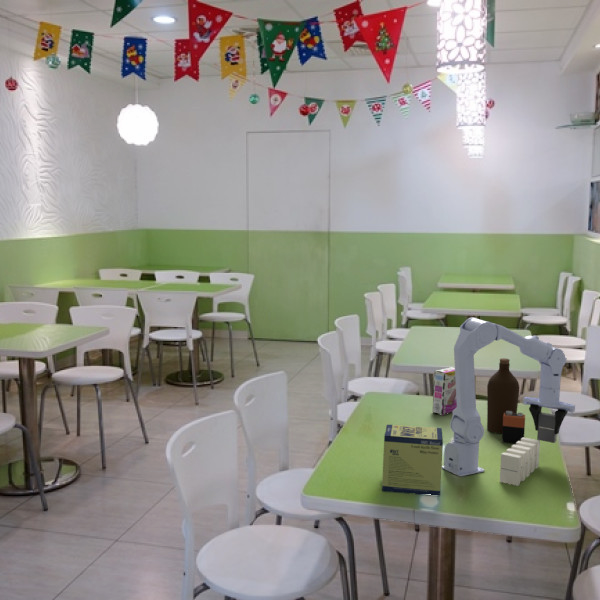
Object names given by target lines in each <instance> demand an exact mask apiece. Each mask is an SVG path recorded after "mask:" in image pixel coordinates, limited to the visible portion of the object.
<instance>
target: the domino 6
mask: <svg viewBox="0 0 600 600" xmlns="http://www.w3.org/2000/svg"><path fill="white" fill-rule="evenodd" d="M554 431H555V413H547V412H542V411H541V412H540V413H539V418H538V431H537V438H536V440H540V442H541V441H542V442H547V443H552V444H555V443H556V442H557V435H558V434H555V433H554Z"/></svg>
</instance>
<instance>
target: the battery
mask: <svg viewBox="0 0 600 600" xmlns="http://www.w3.org/2000/svg"><path fill="white" fill-rule="evenodd" d="M525 426H526V414H524V413H523V412H517V414H516V413H512V411H506V413H504V415H503V432H502V434H501V442H502V443H507V444H513V443H514V444H513V445H516V442H517V441H521V438H523V437H524V438H525V430H526V427H525Z"/></svg>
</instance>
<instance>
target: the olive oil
mask: <svg viewBox="0 0 600 600" xmlns="http://www.w3.org/2000/svg"><path fill="white" fill-rule="evenodd" d="M510 363H511V362H510V359H509V358H500V359H499V363H498V365H499V367H498V368H499V369H498V370H497V371H496V372H495V373H494V374H493V375H492V376H491V377H489V379H488V382H487V384H486V385H487V386H486V387H487V389H486V390H487V393H486V397H487V398H486V399H487V400H486V401H487V403H486V405H487V408H486V409H487V415H486V416H487V419H486V421H487V422H486V426H487V427H486V429H487V430H488V431H489V432H491V433H494V434H501V435H502V432H503V415H504V413H506V411H512V413H516V414H518V406H519V405H518V404H519V398H520V397H519V396H520V384H519V383H520V382H519V380H518V379H517V378H516V376H515V375H514V374H513V373H512V372H511V370H510Z"/></svg>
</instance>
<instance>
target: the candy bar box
mask: <svg viewBox="0 0 600 600" xmlns="http://www.w3.org/2000/svg"><path fill="white" fill-rule="evenodd" d="M433 375H434V376H433V377H434V379H433V395H432V412H434V413H433V414H435V413H438V414H441V415H440V416H445V415H444V414H446V415H448V414H447V413H449V414H451V413H450V412H452V413H453V410H454V409H455V408H456V407H457V401H456V381H455V366H454V367H453V366H450V367H447V368H441V369H437V370H434V374H433ZM438 414H437V415H438Z"/></svg>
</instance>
